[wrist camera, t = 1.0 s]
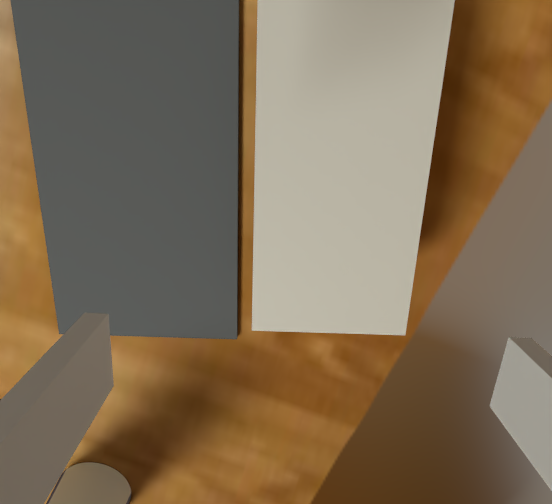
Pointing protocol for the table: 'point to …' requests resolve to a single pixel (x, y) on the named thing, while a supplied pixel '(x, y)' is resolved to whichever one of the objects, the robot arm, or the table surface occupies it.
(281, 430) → the table surface
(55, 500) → the water bottle
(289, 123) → the lid
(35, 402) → the robot arm
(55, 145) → the rubber mat
